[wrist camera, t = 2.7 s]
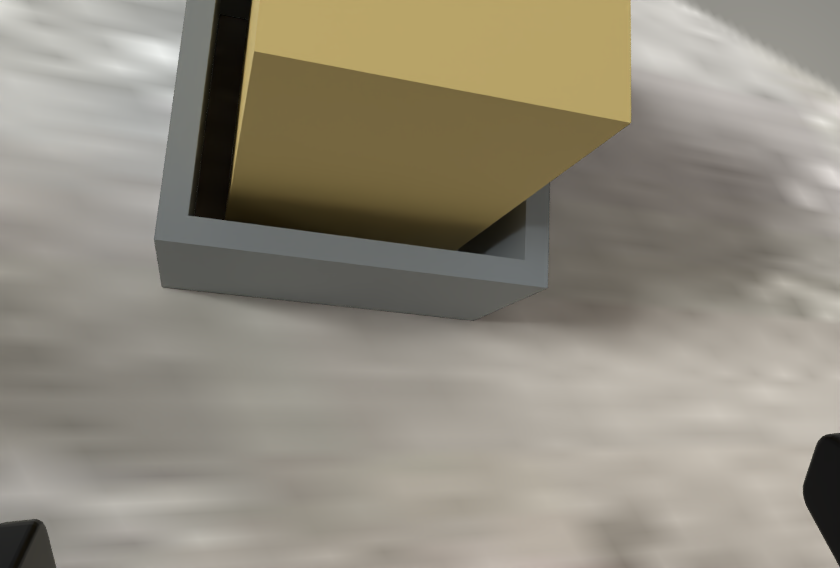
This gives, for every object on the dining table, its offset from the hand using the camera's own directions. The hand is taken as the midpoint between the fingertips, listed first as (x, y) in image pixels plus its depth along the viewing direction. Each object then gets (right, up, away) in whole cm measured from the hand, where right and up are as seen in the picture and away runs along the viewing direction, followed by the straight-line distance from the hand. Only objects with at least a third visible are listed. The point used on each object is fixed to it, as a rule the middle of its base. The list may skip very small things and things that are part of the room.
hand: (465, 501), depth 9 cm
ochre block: (-3, +6, +14) cm, 15 cm away
